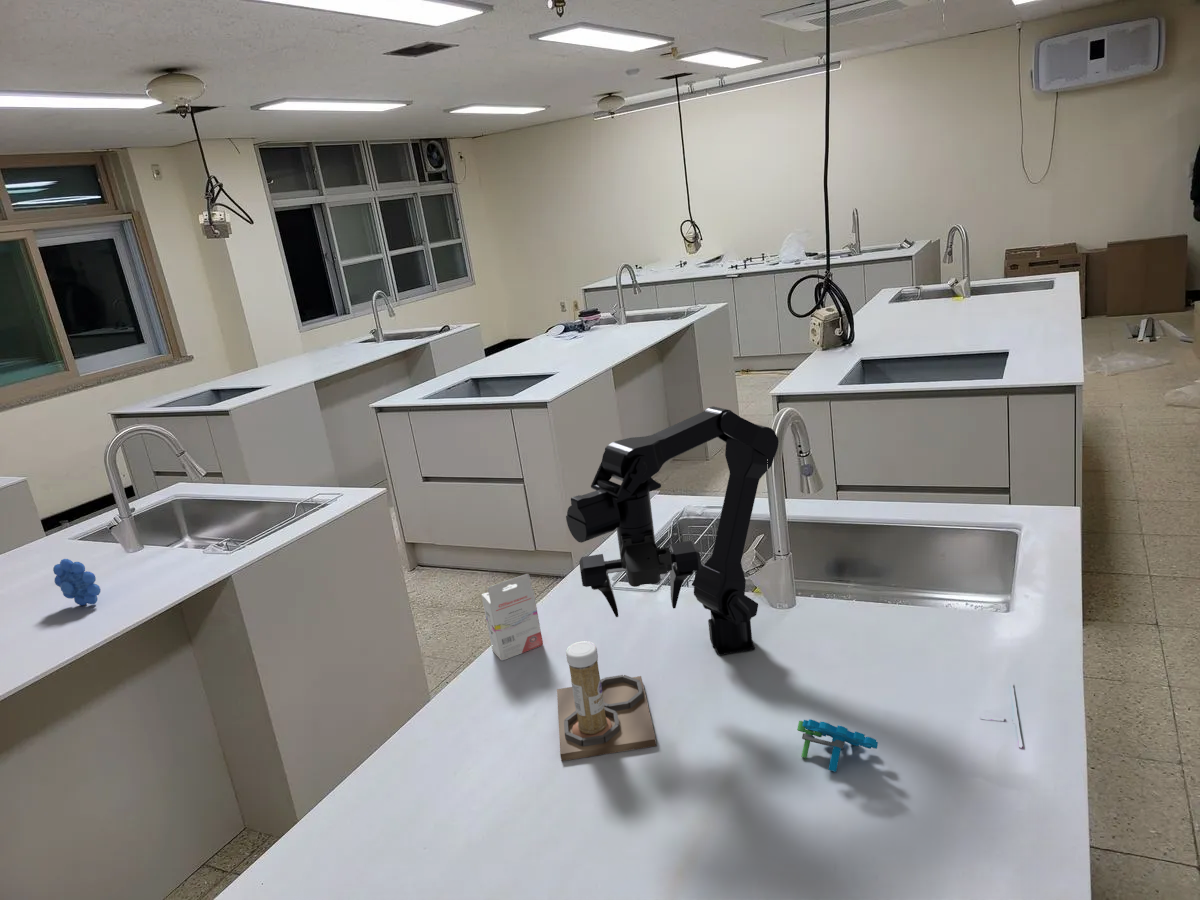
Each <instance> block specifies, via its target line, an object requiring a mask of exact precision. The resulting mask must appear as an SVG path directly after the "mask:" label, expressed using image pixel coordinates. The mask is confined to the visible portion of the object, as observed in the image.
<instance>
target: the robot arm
mask: <svg viewBox="0 0 1200 900" xmlns="http://www.w3.org/2000/svg"><path fill="white" fill-rule="evenodd" d="M716 438H718V439H719V440H721V441H722V442H723V443H724V442H725V453H724V456H725V459H726V463H727V467H728V471H729V477H728V479H727V485H726V489H725V495H724V499H723V504H722V509H721V513H720V517H719V522H718V527H717V531H716V536H715V539H714V540H715V541H714V545H713V550H712V553H711V556H710V557H709V558H708V559H707V560H706V561H705V562H704V563H702V558H701V555H700V551H699V549H698V547H697V545H696V543H695V542H693V541H692V540H687V541H680V542H674V543H670V545H669V547H670V548H669V547H664V548H661V547H658V546H657V544H656V537H655V528H654V519H653V512H652V505H651V504H652V503H651V496H650V492H652V491H653V492H654V491H656V490H659V489H661V488H662V484H661V483H660V482H658V481H657V480H654V479H653V476H655V475H656V474H658V473H659V472H660V471H661V469H662V467H663V466H664V464H665V463H667V462H668V461H669V460H671V459H673V458H676V457H677V456H681V455H682V454H684V453H686V452H688V451H691V450H693V449H695V448H697V447H700V446H701V445H704V444H705V443H707V442H709V441H710V442H711V441H712V440H714V439H716ZM779 440H780V439H779V436H777V433H776V432H775V430H774V429H773V428H771V427H769V426H766V425H760V424H757V423H753V422H752V421H749V420H747V419H745V418H743V417H741V416H739V415H738V414H736V413H735V412H733V411H732V410H731V409H727V408H723V407H717V406H709V407H706V408H705V409H704V410H703V411H702V412H700V413H698V414H695V415H692V416H690V417H688V418H686V419H683V420H682V421H680V422H677V423H675V424H673V425H671V426H669V427H666V428H664V429H662V430H660V431H658V432H655V433H653V434H651V435H649V434H648V435H646V436H635V437H633V436H632V437H627V438H622V439H619V440H615V441H612V442H610V443H609V444H608V445H606V446H605V448H604V452H603V454H602V459H601V462H600V464H599V467H598V468H597V471H596V473H595V475H594V478H593V480H592V482H591V485H590V488H591V489H592V490H594V491H591V492H589V493H585V494H581V495H580V494H578V495H576V496H575V495H574V496H573V497H570V505H569V507H568V508H567V511H566V513H567V514H566V515H565V518H566V520H565V521H566V524H567V528H568V531H569V532H570V534H571V536H572V537H573V538H574V539H575V541H577V542H578V543H584V542H588V541H590V540H592V539H595V538H598V537H600V536H604V535H606V534H608V533H612V532H614V531H615V530H616V532H617V533H616V534H617V541H618V551H619V559H618V558H616V559H612V560H611V559H610V560H606V561H605V559H604V554H603V553H601V554H600V553H598V554H593V555H587V556H582V557H581V558H580V560H579V570H580V579H581V584H582V587H586V588H588V587H590V588H591V590H593V591H594V590H595V591H596V590H597V591H599V592H601V594H602V595H603V596H604V598H605V599H606V600H607V602H608V605H609V606H610V608H611V610H612V612H613V614H614V616H615V618H619V610H618V606H617V601H616V597H615V595H614V591H613V587H612V583H611V579H610V576H609V574H614V573H621V572H626V574H627V579H628V580H627V581H628V584H629V585H630V586H631V587H640V586H643V585H650V584H651V585H655V584H658V583H660V581H661V575H665V574H668V572H669V575H670V577H669V579H670V580H669V581H670V583H669V584H670V600H671V606H672V609H676V608H677V604H678V600H679V597H680V596H679V595H680V592H681V589H682V586H683V584H684V581H685V579H686V578H688V576H692V575H694V572H695V575H694V579H693V581H692V582H691V586H693V595H694V597H695V598H696V600H697V601H698V602H699V603H700V604H702V606H703V608H704V609H706V610H708V611H710V618H709V619H708V620H707V622H708V632H709V633H708V634H709V640H710V643H711V646H712V647H713V648H715V650H716V653H717V655H719V656H722V655H729V654H735V653H739V652H740V653H741V652H748V651H753V650H754V651H755V649H756V645H755V643H754V641H753V635H752V625H751V623H752V622H751V620H752V618H754V617H756V616H757V613H758V610H759V609H758V608H759V603H758V602H756V601H754V600H753V599H752V598H750V597H749V596H747V595H745V594H746V585H747V583H746V576H745V572H744V569H743V565H742V558H743V556H744V555H743V554H744V551H745V550H744V548H745V545H746V541H747V536H748V532H749V526H750V522H751V519H752V514H753V509H754V504H755V499H756V495H757V490H758V487H759V482H760V480H761V478H762V477H763V476H764V475H765V474H766V472H767V471H768V470H769V469H770V468H771V467H772V465H773V462H774V460H775V456H776V454H777V451H778V448H779ZM767 459H768V461H767ZM767 462H768V463H767ZM767 464H768V470H767ZM611 478H614V479H616V480H619V481H622V482H621V484H619V483H616V482H613V481H611Z"/></svg>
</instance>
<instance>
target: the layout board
mask: <svg viewBox="0 0 1200 900" xmlns="http://www.w3.org/2000/svg"><path fill="white" fill-rule="evenodd" d="M600 680H601V686H602V692H603V699H604V708H605V715H606V719H607V726H606V728H605V729H604V730H603V731H601V732H599V733H596V734H585V733H582V732H581V731H580V730H579V728H578V716H577V712H576V708H575V702H574V696H573V689H572V686H569V687H563V688H562V687H561V688H557V689H556V692H557V693H556V694H557V695H556V697H557V715H558V716H557V717H558V720H557V721H558V733H559V734H558V735H559V736H558V738H559V755H560V759H561V760H560V761H561V762H564V761H571V760H577V759H583V758H589V757H596V756H603V755H609V754H614V753H615V754H616V753H619V752H620V753H622V752H626V751H627V752H628V751H632V750H633V751H634V750H641V749H646V748H651V747H653V748H654V747H657V739H656V735H655V730H654V727H653V726H654V725H653V721H652V717H651V714H650V710H649V709H650V708H649V704H648V700H647V699H648V698H647V695H646V692H645V688H644V687H645V686H644V682H643V677H642V676H641V675H640V676H629V675H626V674H624V675H623V674H619V675H612V676H605V677H603V678H602V679H601V678H600Z"/></svg>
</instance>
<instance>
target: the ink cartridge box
mask: <svg viewBox="0 0 1200 900" xmlns="http://www.w3.org/2000/svg"><path fill="white" fill-rule="evenodd" d="M481 600H482V606H483V611H484V615H485V620H486V625H487V631H488V635H489V641H490V644H491V649H492V652H493V653H494V654H495V655H496V657H498V658H499V659H500V661H505V660H507V659H511V658H514V657H515V656H518V655H521V654H524V653H526V652H529V651H531V650H534V649H537V648H540V647H541V646H544V640H543V635H542V631H541V624H540V619H539V613H538V607H537V602H536V596H535V592H534V589H533V586H532V582H531V577H530V574H529V573H525V574H522V575H519V576H515V577H514V578H509V579H507V580H503V581H500V582H499V583H495V584H493V585H489V586H488V587H487V592H484V593H481ZM492 645H493V646H492Z"/></svg>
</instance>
